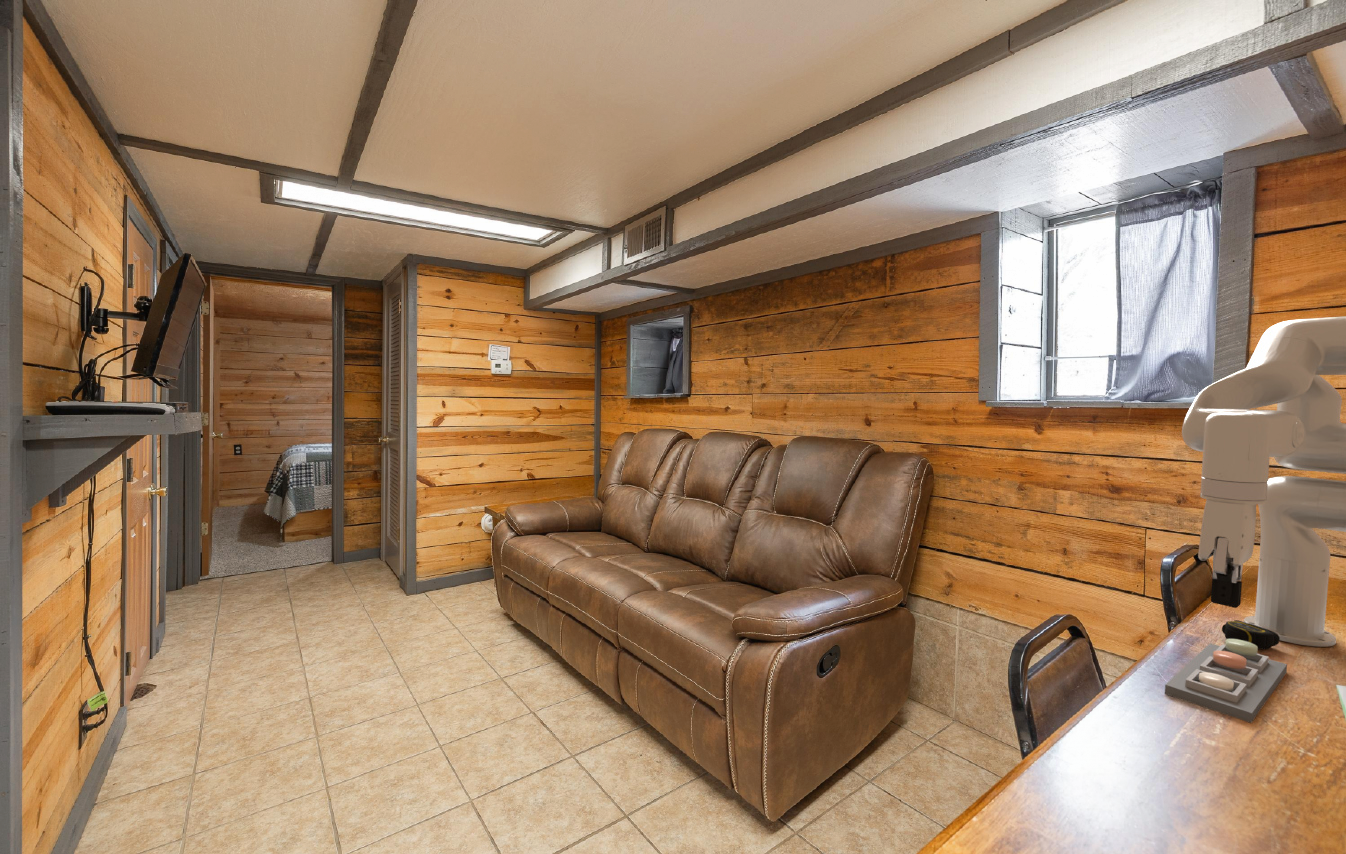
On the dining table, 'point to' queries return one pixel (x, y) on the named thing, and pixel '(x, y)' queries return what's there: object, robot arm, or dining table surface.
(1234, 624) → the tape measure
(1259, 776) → the dining table surface
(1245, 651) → the button sage
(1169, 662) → the dining table surface
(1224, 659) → the button terracotta
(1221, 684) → the cream button
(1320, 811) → the dining table surface
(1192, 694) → the button board
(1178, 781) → the dining table surface
